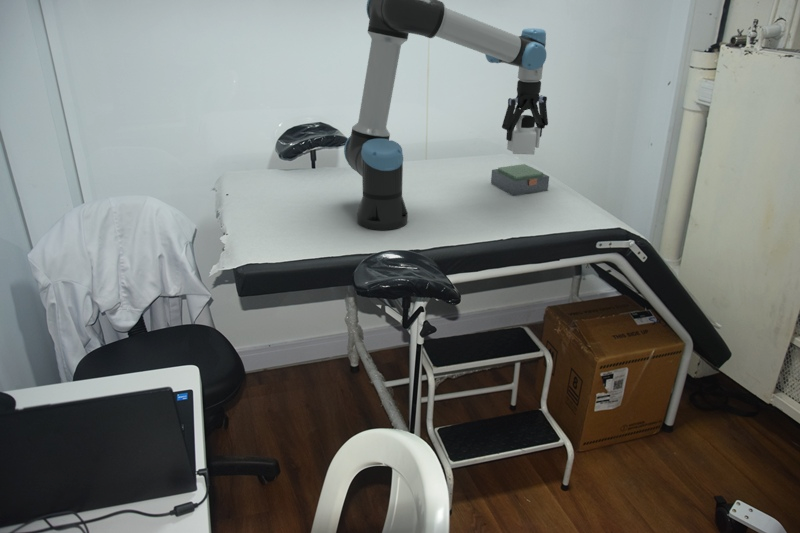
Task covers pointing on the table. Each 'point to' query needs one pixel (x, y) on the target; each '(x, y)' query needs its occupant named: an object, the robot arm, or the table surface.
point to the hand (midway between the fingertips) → (522, 148)
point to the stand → (519, 179)
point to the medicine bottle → (525, 135)
